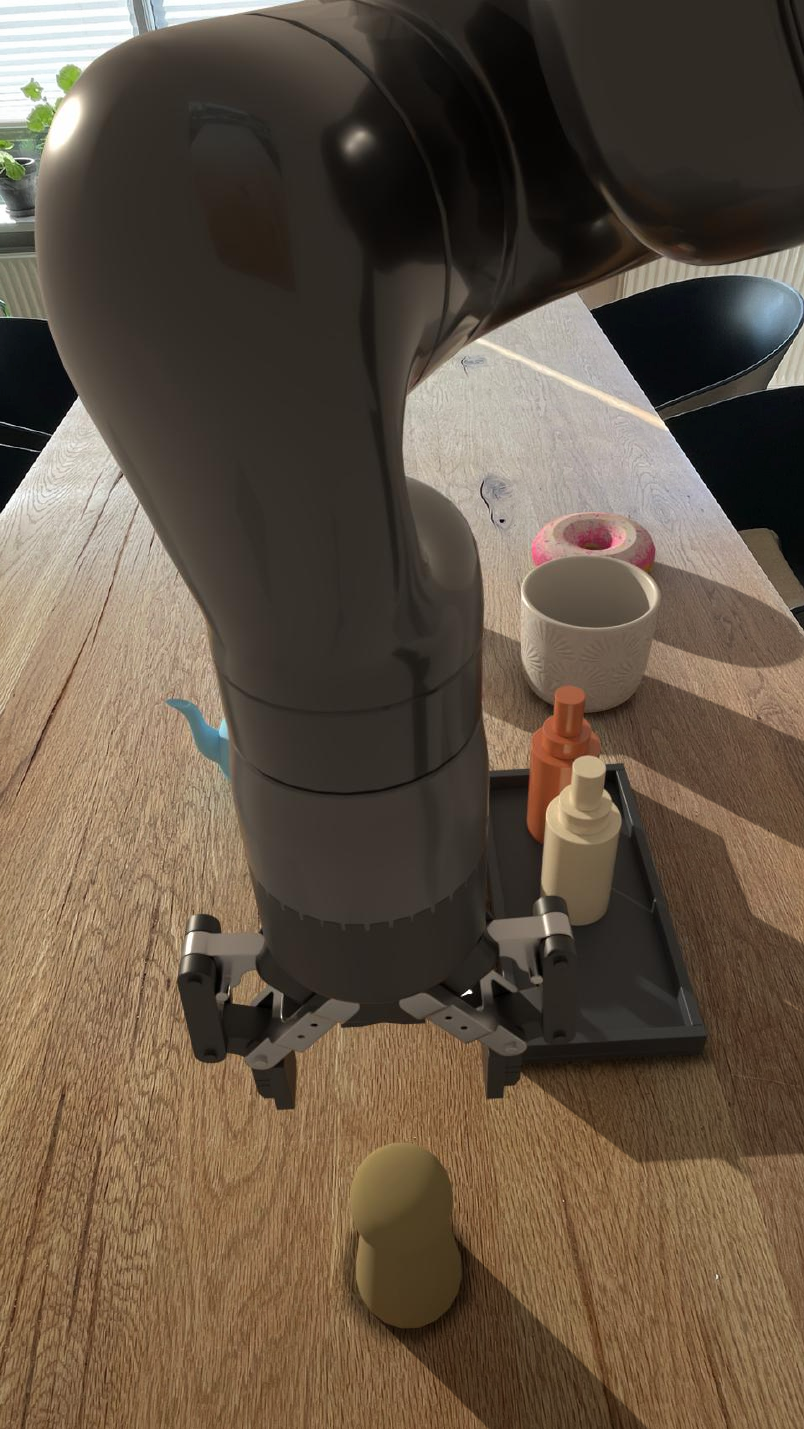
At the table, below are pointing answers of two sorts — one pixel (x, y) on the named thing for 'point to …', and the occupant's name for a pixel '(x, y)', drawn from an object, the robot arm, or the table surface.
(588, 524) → the donut
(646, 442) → the table surface
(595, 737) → the terracotta bottle
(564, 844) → the cream bottle
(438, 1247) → the pepper shaker
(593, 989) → the tray
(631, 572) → the planter
